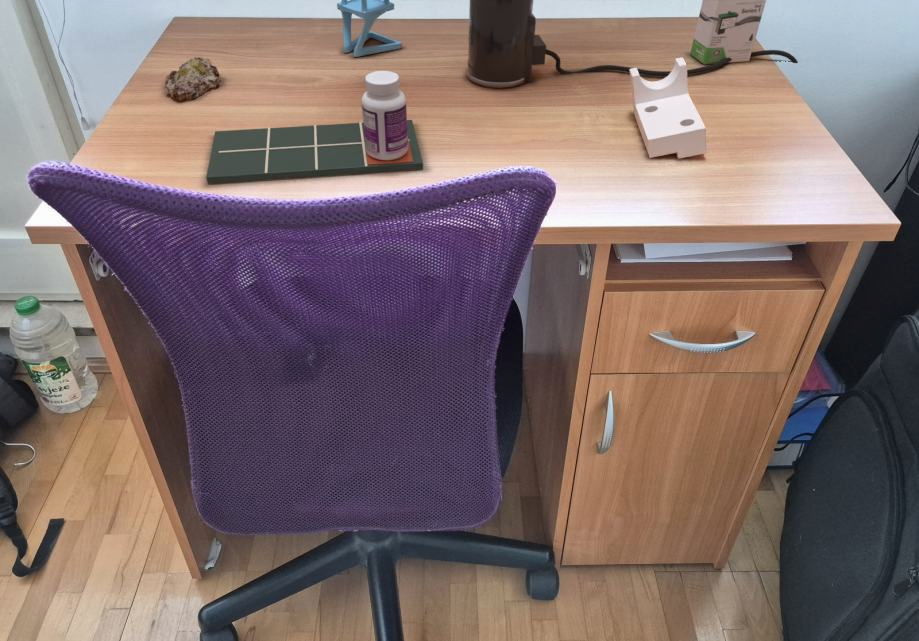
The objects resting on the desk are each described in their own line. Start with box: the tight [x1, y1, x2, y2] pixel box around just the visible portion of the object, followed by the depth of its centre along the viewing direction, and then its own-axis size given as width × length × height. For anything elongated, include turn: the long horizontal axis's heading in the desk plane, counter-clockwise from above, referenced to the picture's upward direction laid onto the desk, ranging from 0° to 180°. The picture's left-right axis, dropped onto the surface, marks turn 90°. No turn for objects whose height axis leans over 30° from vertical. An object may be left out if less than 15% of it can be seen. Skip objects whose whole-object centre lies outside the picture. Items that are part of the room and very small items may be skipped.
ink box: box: [689, 0, 767, 65], centre depth 116 cm, size 9×5×12 cm, turn 103°
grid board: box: [205, 119, 424, 185], centre depth 93 cm, size 26×12×1 cm, turn 99°
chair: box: [336, 0, 402, 58], centre depth 116 cm, size 8×8×12 cm
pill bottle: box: [361, 70, 408, 160], centre depth 88 cm, size 5×5×10 cm
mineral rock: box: [164, 56, 221, 102], centre depth 107 cm, size 11×4×8 cm
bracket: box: [629, 56, 707, 160], centre depth 96 cm, size 13×7×8 cm, turn 179°
